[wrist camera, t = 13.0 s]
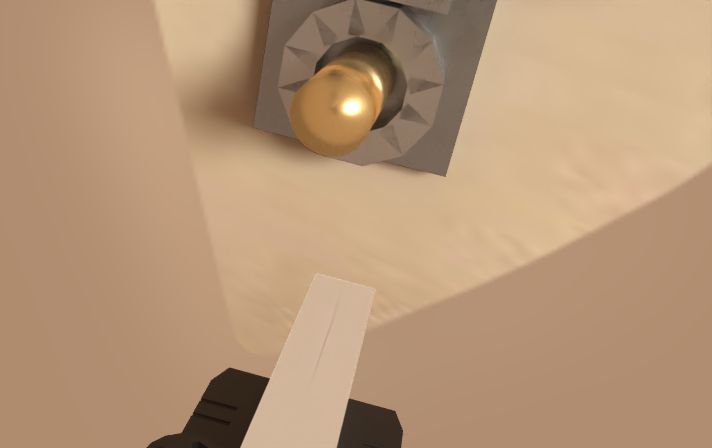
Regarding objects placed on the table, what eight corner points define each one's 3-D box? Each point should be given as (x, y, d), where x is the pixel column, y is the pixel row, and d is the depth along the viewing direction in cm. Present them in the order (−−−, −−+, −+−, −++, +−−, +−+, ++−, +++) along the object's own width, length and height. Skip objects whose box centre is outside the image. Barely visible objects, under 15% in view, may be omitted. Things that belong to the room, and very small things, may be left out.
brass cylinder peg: (337, 38, 41) (295, 67, 32) (401, 51, 40) (377, 85, 31) (327, 101, 42) (285, 146, 33) (388, 114, 42) (362, 164, 33)
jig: (308, -179, 38) (289, -193, 34) (531, -128, 38) (539, -135, 33) (261, 119, 46) (241, 138, 42) (446, 167, 45) (444, 191, 41)
